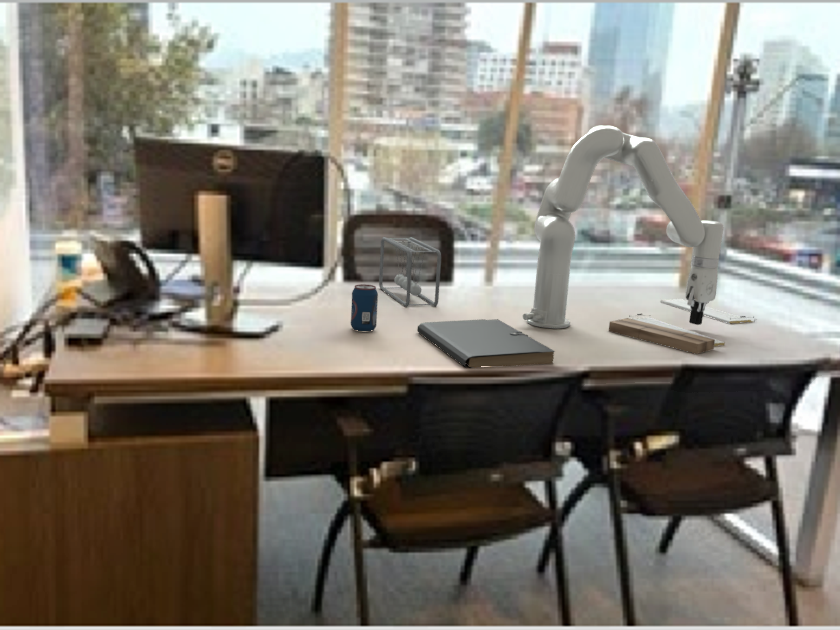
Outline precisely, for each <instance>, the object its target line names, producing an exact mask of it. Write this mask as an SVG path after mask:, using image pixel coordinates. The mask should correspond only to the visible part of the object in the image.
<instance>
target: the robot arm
mask: <svg viewBox="0 0 840 630" xmlns="http://www.w3.org/2000/svg"><path fill="white" fill-rule="evenodd" d="M604 159H607V160H610V161H614V162H617V163H620V164H624V165H628V166H630V167H633V168H634V170H635V172H636V174H637V176H638V178H639V180H640V182H641V183H642V186H643V187H644V189H645V193H647V195H648V197H649V198H650V199H651V201H652V202H653V203H654V204H655V205H657V206H658V207H659V208H660V209H661V210H662V211H663V212H664V214H666V216H667V218H668V219H669V221H668V224H667V226H666V236H667V237H668V239H670V240H671V241H672V242H674V243H676V244H679V245H681V246H684V247H686V248H692V253H691V255H692V256H691V261H690V267H691V268H690V270H689V273H688V277H687V278H688V279H687V282H686V288H685V300H687V301H688V303H687V305H689V306H690V310H691V312H690V314H689V315H690V316H689V320H688V321H689V323H690V324H692V325H697V326H699V325H702V323H703V319H704V318H703V317H704V316H703V311H704V310H705V306H707V304H709V303H710V302H713V301H714V300H715V299H716V296H717V295H716V294H717V287H718V267H719V261H720V254H721V253H720V252H721V247H722V241H723V235H724V228H725V227H724V224H723V222H720V221H716V220H707V219H704V220H701V218H700V216H699V213H698V212H697V210H696V208H695V205H693V203H692V201H691V200H690V199H689V197H687V195H686V194H685V192H684V191H683V189H682V188H681V186H680V185H679V184H678V182H677V180H676V179H675V177H674V174H673V173H672V171H671V168H670V166H669V164H668V163H667V160H666V158H665V157H664V154H663V152H662V151H661V149H660V146H659V145H658V143H657V142H656V141H655V140H654V139H651V138H649V137H644V136H643V137H642V136H637V135H636V136H635V135H631V134H628V133H625V132H623V131H622V130H621V129H620V128H618V127H616V126H613V125H602V124H601V125H595V126H593V127H592V128H590V129H589V130H588V132H587V133H586V134H584V135H583V136H581V137H580V139H578V141H576V142H575V143H574V144H573V146H572V147H571V148H570V150H569V152H568V154H567V156H566V158H565V161H564V164H563V166H562V169H561V172H560V174H559V177H556V178H555V179H553V180H552V181H550V183H549V184H548V185H547V187H546V189H545V191H544V193H543V196H542V200H541V202H540V205H539V209H538V212H537V214H536V215H537V216H536V219H535V221H534V228H533V229H534V235H535V237H536V238H537V240H538V241H539V242H540V244H539V249H538V250H539V251H538V256H537V260H536V261H537V263H536V272H535V273H536V275H535V284H534V285H535V287H534V295H533V296H534V297H533V307H532V308H531V309H530V310H531V311H530V312H526V313H524V314H523V315H522V319H523V320H524V321H526V322H527V323H528V324H529V325H531V326H535V327H538V328H544V329H545V328H546V329H564V328H568V327H570V326H571V321H570V320H569V319H567V318H566V314H567V306H568V305H567V303H568V295H569V293H568V292H569V282H570V273H571V272H570V271H571V263H572V257H573V250H574V245H575V242H576V230H575V228H574V226H573V224H572V222H571V221H570V217H571V215H572V213H574V212H577V211H578V210H580V208H582V206H583V204H584V201H585V198H586V194H587V191H588V189H589V185H590V183H591V179H592V176H593V175H594V172H595V170H596V167H597V166H598V164H599V163H600V162H601V161H602V160H604Z"/></svg>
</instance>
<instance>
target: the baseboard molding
mask: <svg viewBox="0 0 840 630" xmlns="http://www.w3.org/2000/svg"><path fill="white" fill-rule="evenodd" d="M659 302H660V303H661V304H664V305H668V306H670V305H671V306H670V307H674V308H677V307H678V309H680V308H681V309H680V310H683V309H685V310H684V311H686V310H688V311H687V312H690V311H691V310H690V306H689V305H687V303H688V300H687V299H683V298H674V299H673V298H672V299H660V301H659ZM703 315H706V316H709V317H712V318H715V319H718V320H721V321H724V322H727V323H726V324H728V323H736V324H741V323H740V322H749V323H755V322H756V321H757V320H758V319H757V318H755V316H753V317H752V318H753V319H754V320H752V319H750V318H751V316H748V317H746V316H745V315H737V314H733V313H729V312H727V311H726V312H725V311H722V310H719V309H716V308H713V307H710V306H708V305H706V306H705V310H704V311H703ZM709 317H708V318H709ZM712 318H711V319H712ZM715 319H714V320H715ZM718 320H717V321H718ZM721 321H720V322H721ZM724 322H723V323H724Z"/></svg>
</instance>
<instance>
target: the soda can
mask: <svg viewBox="0 0 840 630" xmlns="http://www.w3.org/2000/svg"><path fill="white" fill-rule="evenodd" d="M378 293H379V292H378V290H377V286H375V285H373V284H365V283H364V284H355V285H354V287H353V290H352V291H351V312H350V326H351V328H352V330H353V329H354V330H358V331H371V330H373V331H375V329H376V327H377V324H378V323H377V319H378V317H377V315H378V297H379V294H378ZM354 330H353V331H354Z"/></svg>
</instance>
